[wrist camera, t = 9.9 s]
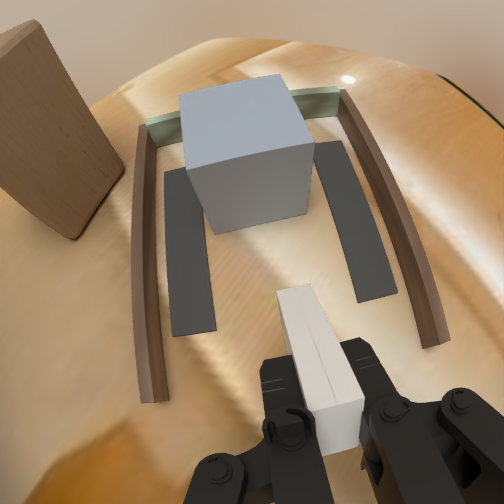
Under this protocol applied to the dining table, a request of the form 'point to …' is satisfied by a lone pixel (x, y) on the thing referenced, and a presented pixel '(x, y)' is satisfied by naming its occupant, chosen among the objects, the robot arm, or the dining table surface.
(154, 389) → the u-shaped frame
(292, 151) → the slate block
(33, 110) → the wooden block
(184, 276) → the pads
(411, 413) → the robot arm
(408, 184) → the dining table surface
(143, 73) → the dining table surface
